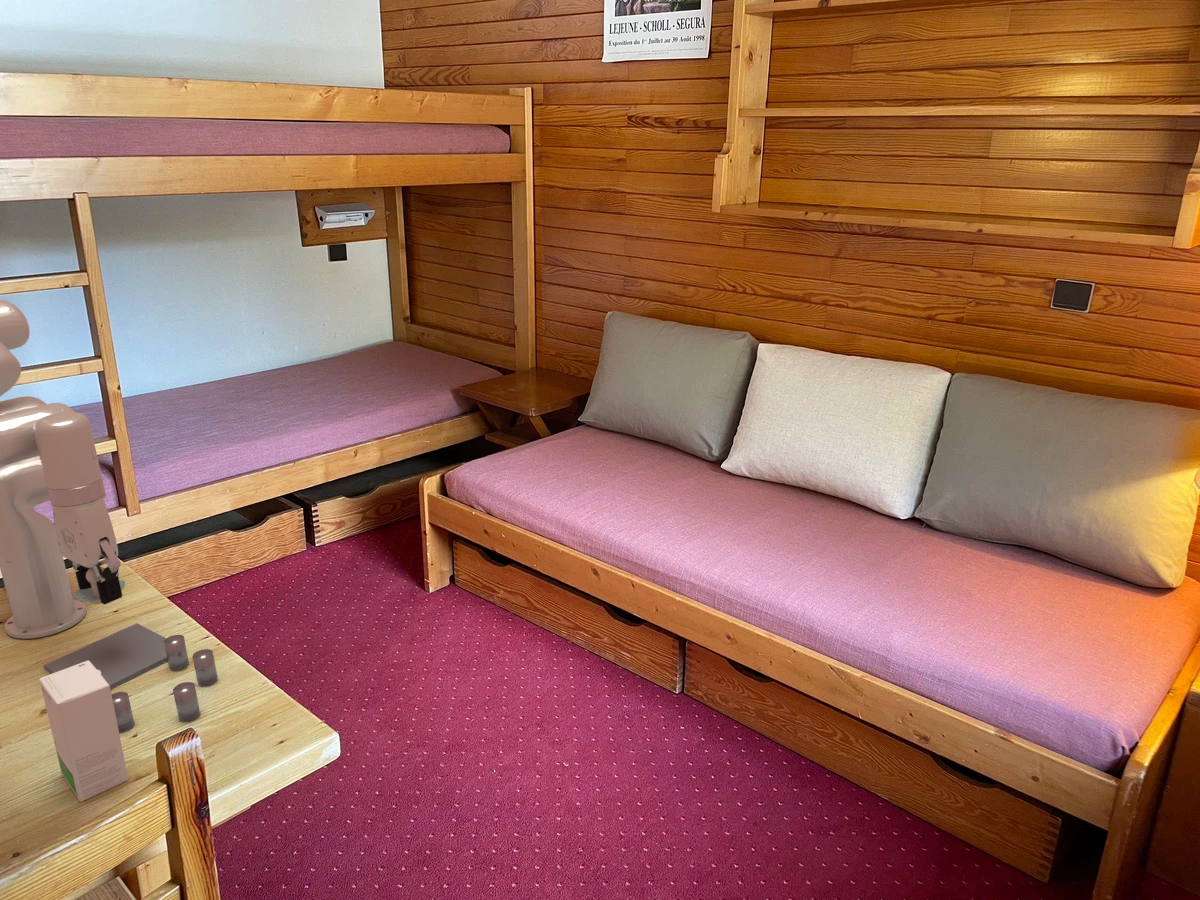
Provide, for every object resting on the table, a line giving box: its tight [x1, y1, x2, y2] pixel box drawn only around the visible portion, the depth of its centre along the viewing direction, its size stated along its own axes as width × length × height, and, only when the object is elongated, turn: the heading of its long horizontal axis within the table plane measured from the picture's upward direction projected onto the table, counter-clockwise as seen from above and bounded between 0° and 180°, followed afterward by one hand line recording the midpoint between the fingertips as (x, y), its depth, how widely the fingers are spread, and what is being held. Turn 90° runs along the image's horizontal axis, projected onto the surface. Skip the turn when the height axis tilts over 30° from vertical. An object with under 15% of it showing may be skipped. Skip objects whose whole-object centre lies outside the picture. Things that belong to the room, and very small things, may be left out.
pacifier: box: [73, 566, 126, 605], centre depth 148 cm, size 7×6×6 cm
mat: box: [42, 622, 168, 691], centre depth 152 cm, size 15×16×1 cm
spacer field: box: [111, 634, 219, 734], centre depth 140 cm, size 17×17×5 cm
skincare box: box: [38, 660, 129, 803], centre depth 122 cm, size 8×7×16 cm
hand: (101, 594), depth 148 cm, fingers closed on pacifier, 5 cm apart
